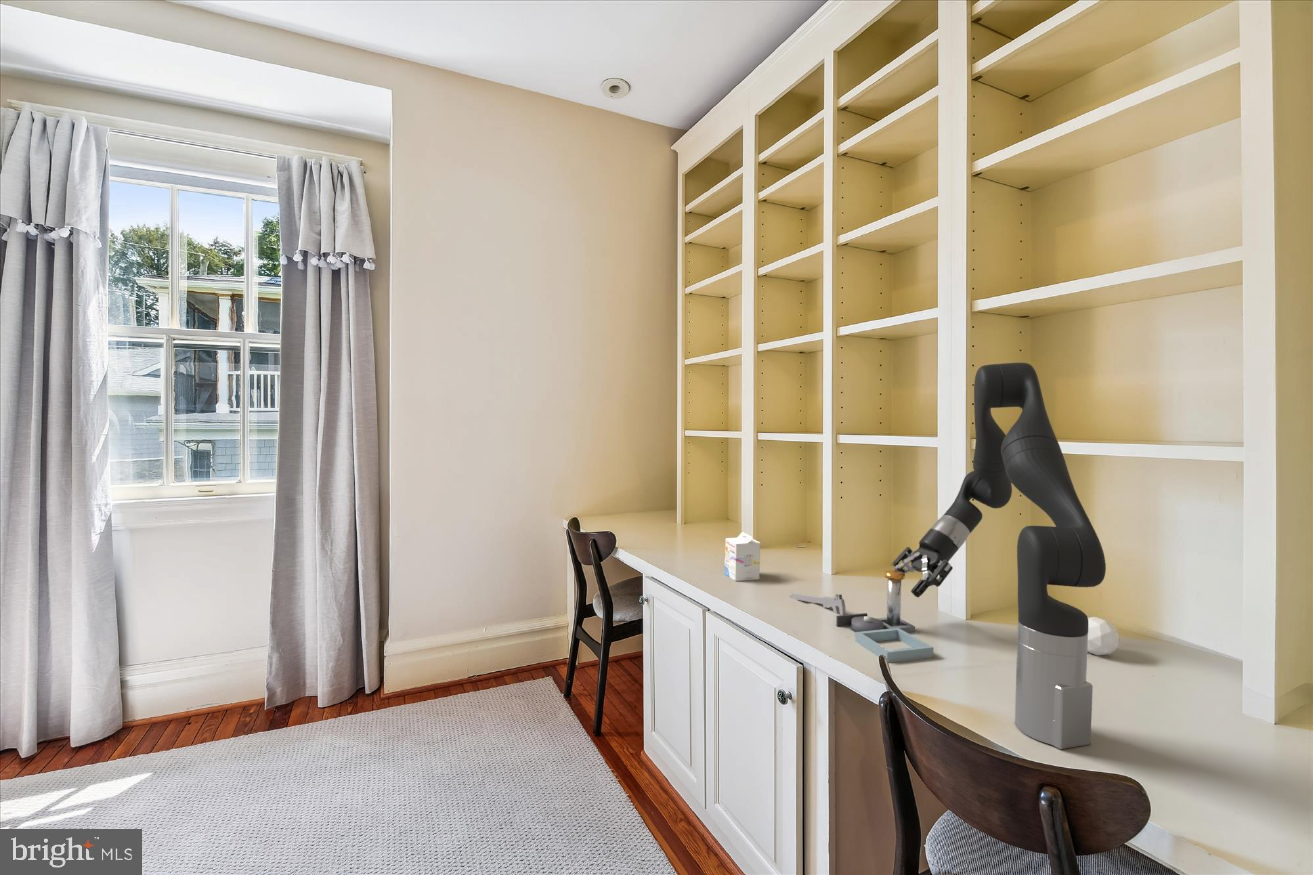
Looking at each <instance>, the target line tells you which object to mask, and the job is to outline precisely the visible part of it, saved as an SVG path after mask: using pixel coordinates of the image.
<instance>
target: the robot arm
mask: <svg viewBox="0 0 1313 875" xmlns="http://www.w3.org/2000/svg"><path fill="white" fill-rule="evenodd" d="M973 384H974V385H973V407H974V409H973V410H974V411H973V413H974V428H975V430H974V431H975V447H974V454H973V461H972V467H973V471H972V470H971V471H970V472H969V473H967V474H966V475H965V476H964V478H963V480H962V484H961V485H960V489H959V491H958V494H957V496H956V497H955V499H954V501H953V502H952V504H951V505H950V507H949V508H948V509H947V510H945V513H944V514H943V515H942V516H941V517H939V519H937V520H936V521H935V522H934V524H933V525H931V527H930V528H929V529H928V530H927V532H926V533H924V535H923V537H922V538H921V539H920V540H919V542H918V544H919V546H918V549H916V550H912V548H911V547H910V546H907V547H905V548H904V549H903V551H901V552H900V554H899V555H898V556H897V557H896V558H895V559H894V560H893V562H892V566H894V568H895V569H894V571H900V572H903V573H905V575H906V574H908V573H914V572H919V573H921V574H922V579H921V578H920V579H919V580H918V581H917V583H916V584H915V585H914V586H913V587H912V588H911V589H910V593H912V595H913V596H914V597H916V598H920V597H921V596H922V595H924V593H925V592H926V591H927V589H928V588H929V587H933V586H935V587H937V588H938V587H940V586H941V585H942V583H943V582H944V581H945V580H946V578H947V577H948V576H949V575H950V573H951V572H952V570H953V566H952V565H951V563H950V560H951V559H952V558H953V557H954V556H955V554H956V553H957V552H958V551H959V550H960V548H961V547H962V546H963V545H964V544H965V542H966V541H967V539H968V538H969V536H970V535H971V533H973V531H974V530H975V528H976V527H977V526H978V525H979V524H980V523H981V521H982V519H983V512H982V511H981V510H980V508H978V507H977V506H976V505H975V504H974V503H972V502H971V499H972V500H975V501H977V502H979V503H980V504H983V505H985V506H987V507H989V508H992V509H1001V508H1004V507H1005V506H1007V505H1008V503H1009V501H1010V500H1011V498H1012V493H1013V486H1014V488H1015V489H1016V490H1018V491H1019V492H1020V493H1021V494H1022V495H1024V496H1025V497H1026V498H1027V499H1028V500H1029V501H1031V502H1032V503H1033V504H1035V505H1036V506H1037V507H1039V509H1041V510H1042V512H1044V513H1045V514H1046V515H1047V517H1049V518H1050V520H1051V521H1052V522H1053V524H1054V525H1055V526H1051V525H1050V526H1049V525H1048V526H1047V525H1046V526H1045V525H1028V526H1027V525H1026V526H1024V527H1023V528H1022V529H1021V530H1020V532H1019V535H1018V538H1017V545H1016V559H1017V560H1016V562H1017V564H1016V566H1017V609H1018V616H1017V638H1016V640H1017V642H1016V670H1015V671H1016V673H1015V674H1016V675H1015V700H1014V702H1015V703H1014V704H1015V705H1014V706H1015V708H1014V724H1015V726H1016V728H1017V729H1018V730H1019V731H1020V732H1022V733H1023V734H1025V735H1027V736H1028V737H1030V738H1033V739H1034V740H1037V741H1040V742H1042V743H1044V744H1049V745H1051V746H1054V747H1055V748H1057V749H1059V750H1063V749H1068V748H1069V749H1070V748H1075V747H1080V746H1087V745H1091V742H1092V740H1091V738H1092V719H1093V718H1092V717H1093V716H1092V715H1093V714H1092V713H1093V687H1094V686H1093V684H1092V683H1091V682H1089V681H1087V670H1088V667H1087V666H1088V665H1087V664H1088V652H1087V647H1088V618H1089V617H1088V616H1087V614H1086V613H1085V612H1084V611H1082V610H1081V609H1079V608H1078V607H1075V606H1074V605H1070V604H1069V603H1066V602H1062V601H1061V600H1058V599H1056V598H1054V597H1052V596H1050V595H1049V594H1048V593H1049V592H1048V586H1061V587H1072V588H1073V587H1074V588H1094V587H1096V586H1099V585H1100V584H1102V583H1103V581H1104V579H1105V576H1106V569H1107V563H1106V557H1105V554H1104V550H1103V546H1102V544H1101V542H1100V539H1099V536H1098V534H1097V532H1096V530H1095V528H1094V527H1093V524H1092V522H1091V520H1090V518H1089V517H1088V515H1087V513H1086V511H1085V508H1084V506H1083V505H1082V502H1081V501H1080V499H1079V496H1078V494H1077V491H1076V489H1075V487H1074V484H1073V481H1072V478H1071V475H1070V473H1069V469H1068V466H1067V462H1066V460H1065V457H1064V454H1063V452H1062V449H1061V446H1060V444H1059V441H1058V439H1057V436H1056V435H1055V432H1054V429H1053V426H1052V424H1051V421H1050V418H1049V416H1048V413H1047V409H1046V406H1045V402H1044V398H1043V394H1042V389H1041V385H1040V381H1039V378H1038V373H1037V372H1036V370H1035V368H1034V367H1033V366H1032V364H1030V363H1028V362H1009V363H1008V362H1007V363H1006V362H1005V363H994V364H985V365H982V366H980V367H979V368H978V369H977V371H976V374H975V376H974V383H973ZM999 408H1002V409H1003V408H1020V409H1021V410H1022V411H1021V413H1020V415H1019V417H1018V419H1017V420H1016V421H1015V423H1014V424H1013V425H1012V426H1011V427H1010V429H1009V430H1008V432H1007V434H1006V433H1005V432H1004V431H1003V429H1002V428H1001V426H999V425H998V423H997V422H996V420H995V419H994V417H993V415H992V412H991V409H999ZM1012 485H1013V486H1012ZM900 562H901V563H900ZM905 567H906V568H905ZM887 582H888V579H887Z"/></svg>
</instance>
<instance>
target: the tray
mask: <svg viewBox="0 0 1313 875" xmlns="http://www.w3.org/2000/svg"><path fill="white" fill-rule="evenodd" d="M854 633H855V635H854V636H855V638H854V642H855V643H857V644H859V645H860V646H861V647H863V648H865V649H866V650H867V651H869V652H870V653H872V654H874V655H875V656H876V657H878V658H879V656H880V655H881V654H883V655H884V656H886V658H887V662H886V663H894V662H903V661H912V660H920V659H928V658H929V659H930V658H934V646H931V645H930V644H929V643H926V641H923V640H922V639H919V638H917V636H914V635H913V634H911V635H910V634H908V633H907V632H905V631H903V630H901V629H899V628H893V629H883V630H873V631H863V632H854ZM890 640H891V641H892V640H898V641H900V642H901V643H904V644H906V645H907V646H909V647H904V648H895V649H888V648H886V647H884V646H882V645H881V644H880V643H878V642H882V641H890Z"/></svg>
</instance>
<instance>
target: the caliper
mask: <svg viewBox="0 0 1313 875" xmlns="http://www.w3.org/2000/svg"><path fill="white" fill-rule="evenodd" d="M788 596H789V597H790V598H792V599H794V600H796V599H797V601H803V602H809V603H815V604H821V605H822V607H823V608H827V609H828V608H832V610H833V613H834V614H839V615H846V604H845V603H846V602H845V599H844V598H843V595H842V594H841V593H840V594H839V593H835V594H834V597H833V596H826V595H825V596H815V595H810V594H809V595H808V594H802V593H801V594H800V593H797V592H795V593H791V594H789V595H788Z"/></svg>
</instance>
